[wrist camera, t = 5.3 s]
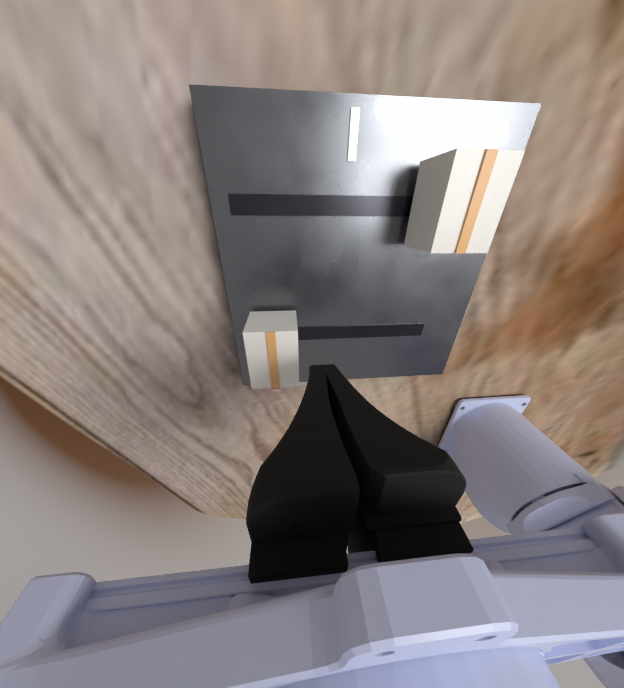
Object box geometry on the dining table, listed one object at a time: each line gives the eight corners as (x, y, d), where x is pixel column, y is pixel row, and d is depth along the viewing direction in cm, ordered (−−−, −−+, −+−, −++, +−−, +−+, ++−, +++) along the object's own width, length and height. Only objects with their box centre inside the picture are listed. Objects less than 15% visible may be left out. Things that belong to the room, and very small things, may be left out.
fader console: (432, 364, 21) (442, 374, 20) (246, 373, 20) (243, 385, 19) (515, 114, 13) (543, 103, 11) (199, 98, 11) (188, 83, 10)
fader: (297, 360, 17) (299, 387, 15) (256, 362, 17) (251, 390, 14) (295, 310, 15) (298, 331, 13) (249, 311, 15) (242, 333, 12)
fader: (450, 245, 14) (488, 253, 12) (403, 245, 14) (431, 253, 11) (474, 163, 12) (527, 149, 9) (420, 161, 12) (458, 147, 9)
